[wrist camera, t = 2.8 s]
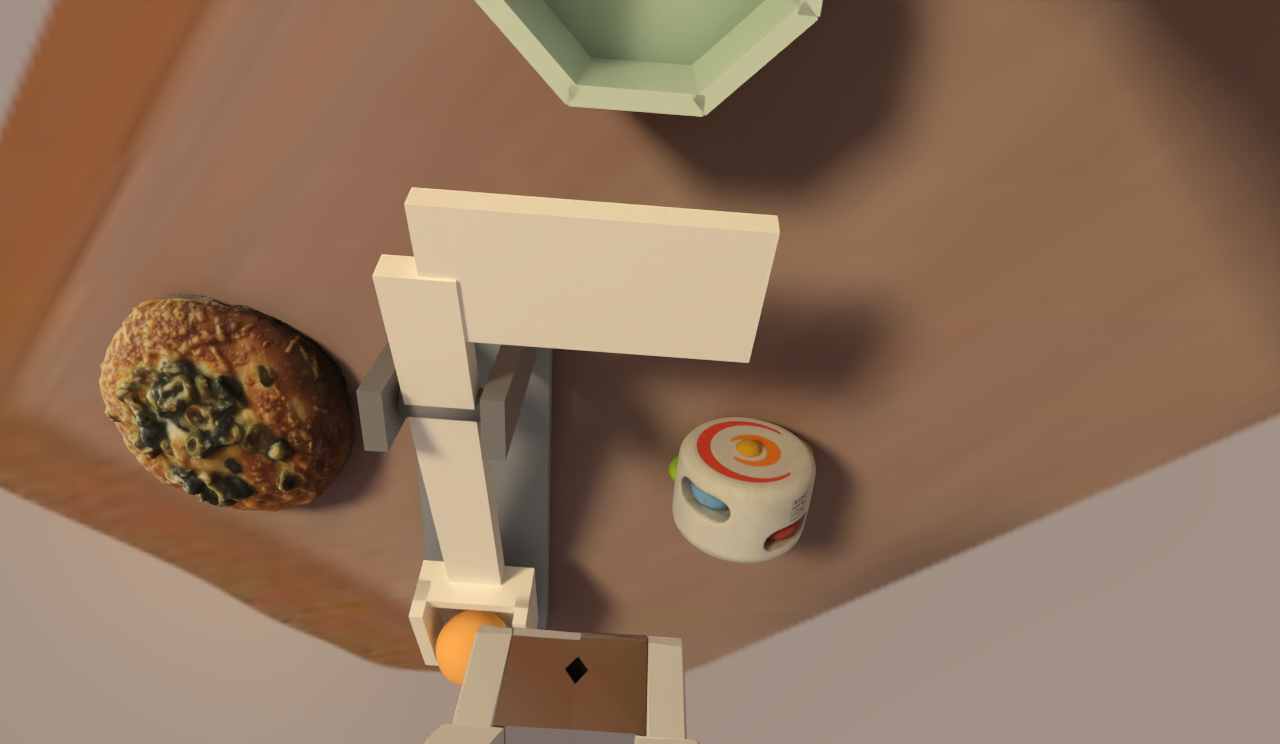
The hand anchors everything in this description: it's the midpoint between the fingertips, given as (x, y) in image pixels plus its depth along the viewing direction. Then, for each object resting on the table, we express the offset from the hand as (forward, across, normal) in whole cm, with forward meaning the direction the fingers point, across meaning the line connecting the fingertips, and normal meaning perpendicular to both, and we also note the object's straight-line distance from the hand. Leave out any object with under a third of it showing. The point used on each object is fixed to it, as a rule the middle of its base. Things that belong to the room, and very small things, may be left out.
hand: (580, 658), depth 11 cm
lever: (+17, +2, +10) cm, 19 cm away
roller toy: (+22, -6, +11) cm, 25 cm away
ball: (+17, +6, +20) cm, 27 cm away
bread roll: (+22, +17, +10) cm, 30 cm away
